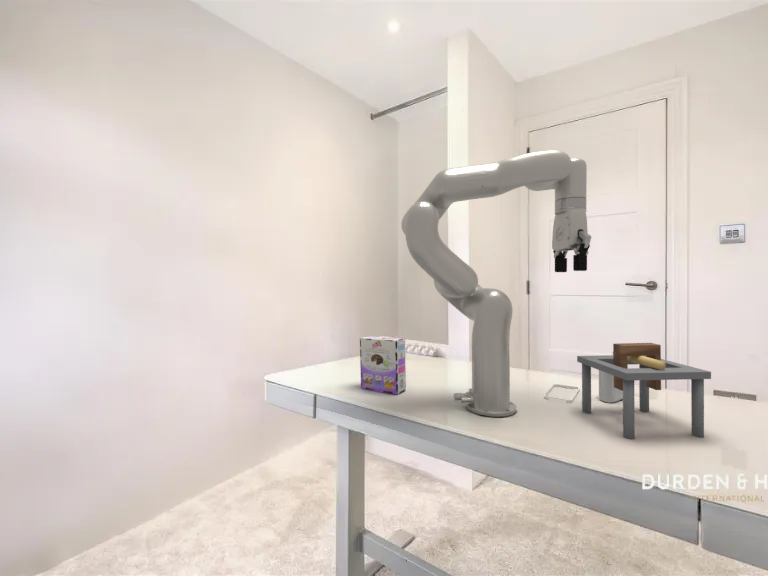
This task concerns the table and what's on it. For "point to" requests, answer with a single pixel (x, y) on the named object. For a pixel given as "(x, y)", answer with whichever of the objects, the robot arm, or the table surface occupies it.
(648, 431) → the table surface
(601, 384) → the photo printer
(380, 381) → the candy box
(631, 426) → the grey open-frame table
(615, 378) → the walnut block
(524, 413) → the table surface
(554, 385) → the phone case
